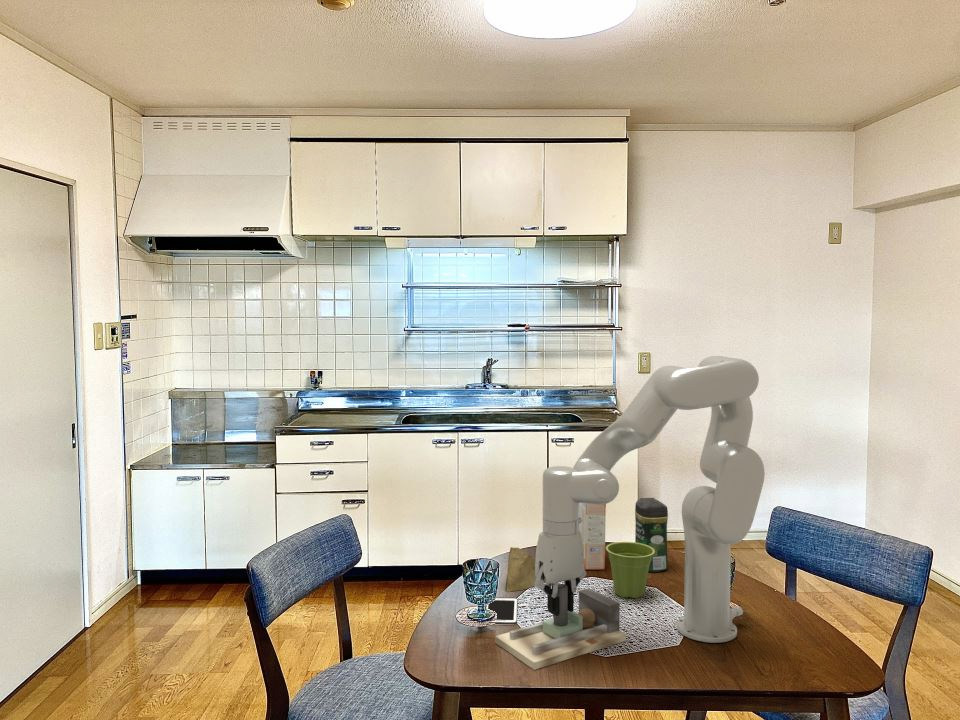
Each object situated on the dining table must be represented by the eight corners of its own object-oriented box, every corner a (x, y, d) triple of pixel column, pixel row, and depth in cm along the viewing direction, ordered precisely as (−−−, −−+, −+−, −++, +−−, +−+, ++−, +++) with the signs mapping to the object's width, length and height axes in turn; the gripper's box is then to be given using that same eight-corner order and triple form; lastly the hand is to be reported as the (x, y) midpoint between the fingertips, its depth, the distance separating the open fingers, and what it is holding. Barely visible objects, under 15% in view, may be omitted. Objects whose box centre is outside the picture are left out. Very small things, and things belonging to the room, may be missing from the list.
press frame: (583, 617, 169) (583, 585, 169) (625, 640, 157) (626, 606, 157) (495, 643, 157) (494, 608, 156) (534, 670, 145) (534, 632, 144)
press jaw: (564, 624, 161) (564, 578, 160) (582, 634, 156) (582, 587, 155) (542, 631, 158) (542, 584, 157) (559, 641, 153) (560, 593, 152)
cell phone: (517, 601, 180) (517, 597, 180) (516, 627, 165) (516, 622, 165) (486, 600, 180) (486, 596, 180) (482, 626, 166) (482, 622, 166)
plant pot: (645, 606, 175) (645, 559, 175) (598, 596, 182) (598, 551, 181) (660, 590, 185) (661, 546, 185) (616, 581, 192) (616, 538, 191)
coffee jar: (631, 561, 207) (631, 496, 205) (658, 560, 207) (659, 495, 206) (642, 573, 197) (643, 505, 196) (671, 572, 198) (671, 503, 197)
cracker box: (606, 570, 200) (606, 494, 198) (584, 570, 200) (584, 494, 198) (597, 553, 214) (597, 481, 212) (576, 553, 214) (576, 482, 212)
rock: (545, 568, 195) (508, 562, 195) (549, 550, 189) (510, 544, 190) (542, 605, 187) (502, 599, 187) (545, 587, 181) (505, 580, 182)
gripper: (579, 516, 163) (579, 597, 164) (518, 528, 154) (518, 614, 155) (602, 524, 156) (602, 609, 158) (539, 537, 148) (539, 627, 149)
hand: (560, 610), depth 156 cm, fingers closed on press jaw, 3 cm apart
